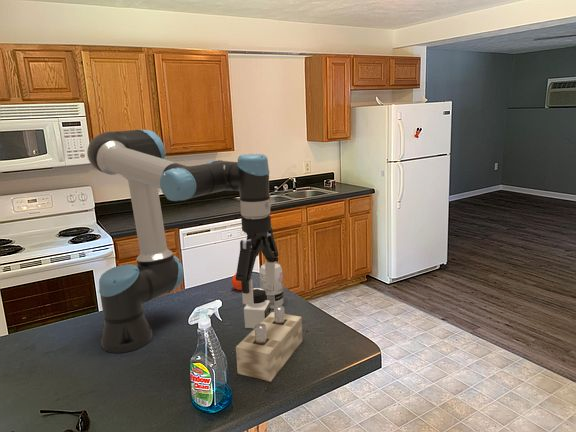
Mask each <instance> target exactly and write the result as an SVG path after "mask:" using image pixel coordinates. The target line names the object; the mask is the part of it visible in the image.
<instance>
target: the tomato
mask: <svg viewBox="0 0 576 432" xmlns="http://www.w3.org/2000/svg"><path fill="white" fill-rule="evenodd" d="M231 284H232V287H233V288H234V289H236V290H237V291H242V284H241V281H237V280H236V273H235V274H234V275H233V276H232V278H231Z"/></svg>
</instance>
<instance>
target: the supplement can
mask: <svg viewBox="0 0 576 432" xmlns="http://www.w3.org/2000/svg"><path fill="white" fill-rule="evenodd" d="M258 272H259V284H260V285H259V287H260V289H263V290H265V292H266V300H269V301H270V310H271V309H273V310H274V307H275V306H278V305H281V306H283V305H284V304H285V303H284V301H285V299H284V278H283V268H282V266H281V264H280V263H279V262H278V263H277V262H275V276H276V284H275V285H270V284H266V274H265V263H263V264H262V265H261V266H260V268H259V271H258Z"/></svg>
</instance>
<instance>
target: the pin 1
mask: <svg viewBox="0 0 576 432" xmlns="http://www.w3.org/2000/svg"><path fill="white" fill-rule="evenodd" d="M255 341H256V344H258V345H263V346H264V345H265V344H266V343H267V339H266V325H265V324H256V325H255Z"/></svg>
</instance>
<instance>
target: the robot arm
mask: <svg viewBox="0 0 576 432" xmlns="http://www.w3.org/2000/svg"><path fill="white" fill-rule="evenodd" d="M165 149H166V148H165V145H164V143H163V141H162V139H161V138H160V136H159V135H157V134H156V132H155V131H153V130H151V129H150V130H149V129H130V130H119V131H118V130H117V131H105V132H102V133H100V134H97V135H96V136H95V137H93V139H92V140H90V142H89V144H88V147H87V152H86V154H87V158H88V161H89V163H90V165H91V166H92V167H93V168H94V169H95V170H97V171H99V172H101V173H104V174H106V175H111V176H115V175H119V176H122V177H123V178H125V179H126V180H127V184H128V188H129V193H130V202H131V206H132V211H133V218H134V225H135V230H136V236H137V242H138V247H139V255H137V257H136V264H137V265H135V264H133V263H132V264H131V263H128V264H123V265H116V266H114V267H112V268H109V269H107V270H106V271H104V272H103V273H102V274H101V276H100V278H99V281H98V286H99V287H98V288H99V290H98V293H99V296H100V303H101V307H102V314H103V321H104V323H103V327H102V328H103V329H102V335H101V337H100V341H101V342H100V343H101V348H102V350H104V351H106V352H108V353H115V354H116V353H117V354H119V353H120V354H121V353H127V352H131V351H135V350H137V349H140V348H142V347H145V345H147V344H148V343H150V342H151V341H152V338H153V329H152V327H151V325H150V322H149V321H148V319H147V317H146V315H145V312H144V303H146V302H149V301H152V300H154V299H156V298H159V297H161V296H164V295H167V294H170V293H171V292H173V291H175V290H177V289H178V288H179V287H180V286H181V284H182V283H183V279H184V267H183V264H182V262H180V261H181V260H180V258H178V257H177V256H176V255H174V252H173V251H172V250H171V249H169V248H168V245H167V238H166V231H165V225H164V219H163V213H162V207H161V205H162V204H161V201H160V193H159V189H160V191H161V193H162V195H163V196H165V197H166V199H167V200H168V201H171V202H173V201H174V202H177V201H187V200H190V199H193V198H198V197H201V196H205V195H210V194H214V193H215V194H216V193H219V192H223V191H230V192H231V191H232V192H233V191H234V192H239V201H240V203H239V205H240V215H241V216H242V217H241V218H240V219H241V230H242V232H243V233H244V234H246V240H243V239H240V242H239V256H238V260H237V261H238V262H237V266H236V267H237V268H236V272H235V274H236V280H237V281H241V284H242V290H241V296H242V304H243V305H247V304H248V305H253V304H254V301H253V289H254V288H253V287H254V286H253V279H251V278H252V274H253V271H254V266H255V263H256V259H257V257H258V256H259V255H260V252H261V253H262V255H263V256H264V259H265V260H266V261H265V262H264V264H265V274H266V284H270V285H275V284H276V276H275V263H277V262H278V263H279V256H280V255H279V254H280V253H279V251H278V247H277V244H276V241H275V238H274V237H275V236H274V233H273V231H274V230H273V228H272V218H271V215H270V214H271V207H272V203H271V200H270V198H271V196H270V170H269V160H268V157H267V155H265V154H263V153H262V154H261V153H248V154H247V153H246V154H240V155H239V156H238V157H237V161H227V160H222V159H218V160H211V161H208V162H207V163H204V164H198V165H197V164H196V165H185V164H180V163H177V162H175V161H172V160H168V159H166V150H165Z"/></svg>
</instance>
